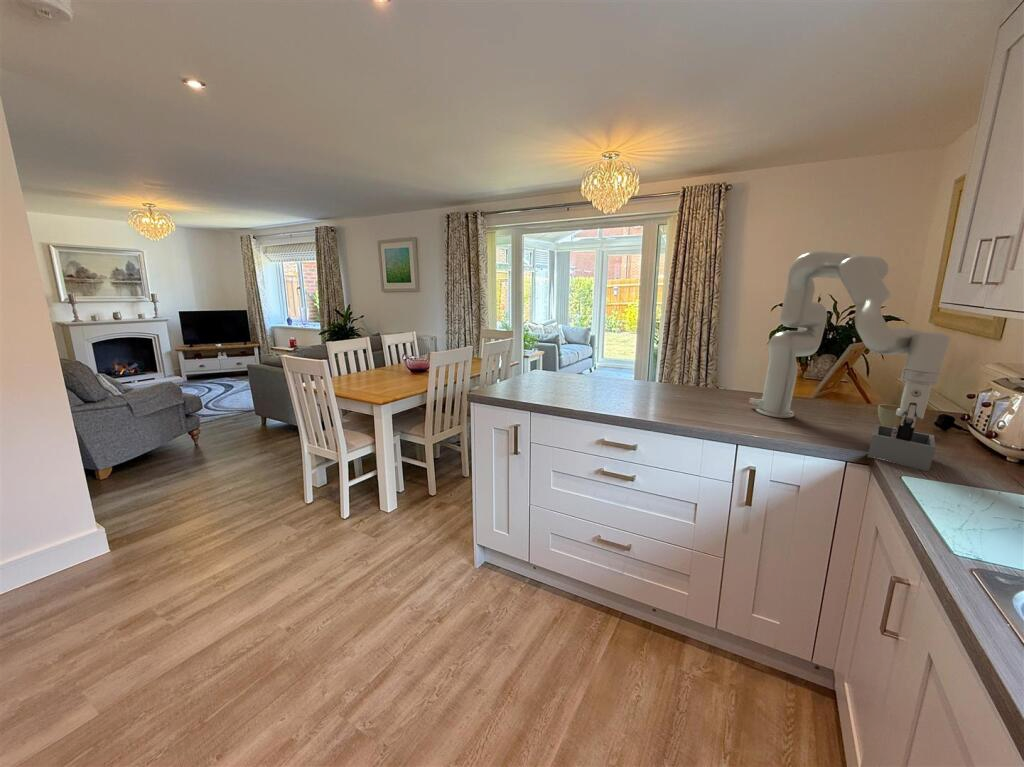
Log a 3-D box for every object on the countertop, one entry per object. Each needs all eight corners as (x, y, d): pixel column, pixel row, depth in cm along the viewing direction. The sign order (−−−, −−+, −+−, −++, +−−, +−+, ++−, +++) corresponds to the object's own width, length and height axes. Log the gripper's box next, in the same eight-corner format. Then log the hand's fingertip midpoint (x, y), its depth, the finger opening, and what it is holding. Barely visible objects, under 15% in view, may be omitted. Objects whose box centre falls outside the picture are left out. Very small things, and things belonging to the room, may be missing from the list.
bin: (867, 457, 123) (873, 434, 121) (870, 445, 132) (875, 424, 130) (928, 471, 114) (935, 447, 113) (927, 457, 124) (933, 435, 122)
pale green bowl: (867, 424, 152) (872, 405, 150) (884, 421, 155) (889, 403, 153) (900, 434, 143) (905, 414, 141) (917, 431, 146) (923, 411, 144)
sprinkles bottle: (883, 451, 125) (892, 407, 122) (896, 450, 125) (906, 407, 122) (898, 457, 121) (908, 412, 118) (912, 456, 121) (923, 411, 118)
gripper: (940, 384, 108) (921, 448, 113) (937, 374, 121) (920, 432, 125) (901, 379, 113) (884, 440, 118) (902, 370, 126) (887, 425, 130)
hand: (903, 435), depth 121 cm, fingers open, 7 cm apart
